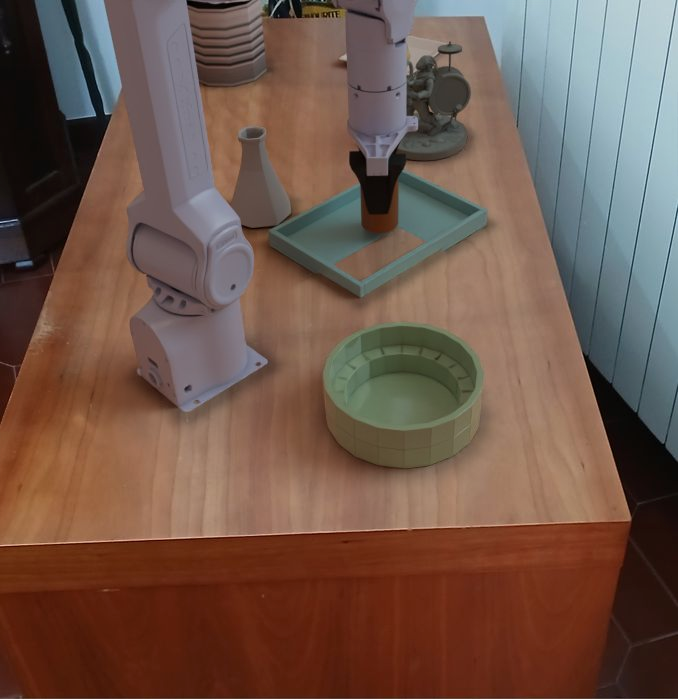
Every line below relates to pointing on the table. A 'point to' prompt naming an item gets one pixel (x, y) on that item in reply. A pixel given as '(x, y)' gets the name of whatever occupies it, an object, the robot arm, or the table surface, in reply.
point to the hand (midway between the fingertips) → (378, 201)
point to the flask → (258, 183)
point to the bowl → (403, 394)
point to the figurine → (435, 108)
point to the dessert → (416, 50)
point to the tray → (349, 236)
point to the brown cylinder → (381, 215)
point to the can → (227, 41)
